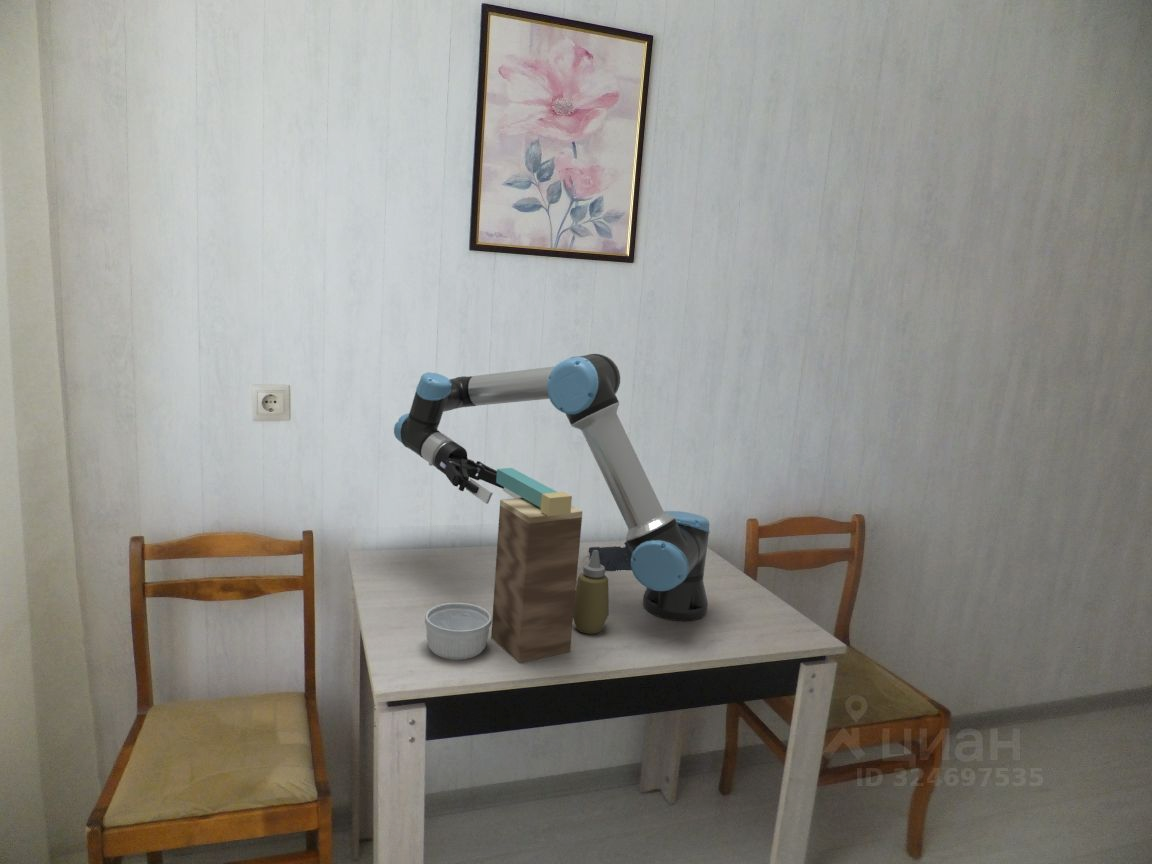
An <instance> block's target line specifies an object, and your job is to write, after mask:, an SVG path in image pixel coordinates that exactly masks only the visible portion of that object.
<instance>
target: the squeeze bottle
mask: <svg viewBox="0 0 1152 864" xmlns="http://www.w3.org/2000/svg"><path fill="white" fill-rule="evenodd" d="M590 556H591V555H590ZM589 559H590V560H589V562H588V563H585V564H584V565H583V568H582V570H583V571H582V573H581V574H579V575H578V576H577V580H576V592H575V603H574V614H573V623H574V627H575V630H577V631H578V632H581V633H583V634H587V635H589V634H590V635H591V634H593V635H594V634H598V633H600V632H602V631H603V628H604V626H605V624H606V621H607V619H608V617H609V611H610V610H609V608H610V607H609V606H610V605H609V579H608V577H607V576H606V575H605V573H606V571H605V567H604V566H603V565H601V564H600V558H599V551H598V550H593V552H592V556H591V557H590V558H589Z"/></svg>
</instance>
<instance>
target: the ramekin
mask: <svg viewBox="0 0 1152 864" xmlns="http://www.w3.org/2000/svg"><path fill="white" fill-rule="evenodd" d="M424 623H425V626H426V640H427V641H426V642H427V646H428V648H429V650H431V652H432V653H433V654H434V655H436V656H438V657H439V658H443V659H446V660H453V661H454V660H457V661H458V660H459V661H460V660H461V661H462V660H467V659H468V658H469V659H472V658H475V657H477V656H479V655H480V654H481V653H482V652H483V651H484V649H485V648H486V645H487V643H488V642H487V641H488V638H489V634H490V633H489V632H490V627H492V615H491V613H490V612H489V611H488V610H487V609H485V608H484V607H482V606H479V605H476V604H472V603H466V602H448V603H442V604H438V605H435V606H433V607H432V608H430V609H429V610H427V612H426V614H425V618H424ZM469 659H468V660H469Z"/></svg>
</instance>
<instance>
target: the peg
mask: <svg viewBox="0 0 1152 864" xmlns="http://www.w3.org/2000/svg"><path fill="white" fill-rule="evenodd" d="M496 471H497V478H496V483H498V484H500V485H501V486H503V487H505V488H507V489H508V490H510V491H512V492H514V493H515V494H517V495H519V496H521V497H522V498H524V499H526V500H528V501H529V502H531V503H533V504H535V505H536V506H538V507H540V508H541V511H540V512H542V513H544V514H545V515H547V516H555V515H564V514H570V513H571V506H572V502H573V501H572V500H573V496H572V495H571V494H569V493H567V492H566V491H559V492H558V491H557V490H555V489H553V488H551V487H549V486H547V485H545V484H543V483H542V482H540V481H537V480H535V479H534V478H532V477H530V476H528V475H526V474H524V473H523V472H520V471H519V470H516V469H515V468H513V467H506V468H505V467H504V468H496Z"/></svg>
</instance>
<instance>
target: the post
mask: <svg viewBox="0 0 1152 864" xmlns="http://www.w3.org/2000/svg"><path fill="white" fill-rule="evenodd" d="M540 511H541V508H540V507H538V506H536V505H535V504H533V503H531V502H529V501H528V500H526V499H524V498H513V497H512V498H504V499H500V501H499V515H498V527H497V528H498V529H497V543H496V559H495V562H496V563H495V575H494V590H493V602H492V603H493V606H492V616H491V633H490V638H491V639H492V640H493V641H494V642H495V643H496V644H498V646H499V647H501V648H502V649H503V650H504V651H505V652H506V653H507V654H509V656H511V657H512V658H513V659H514V660H515V661H516V662H518V663H519V664H521V663H524V662H530V661H533V660H538V659H541V658H542V659H543V658H548V657H552V656H556V655H561V654H565V653H569V652H571V648H572V647H571V645H572V635H573V625H574V624H573V623H574V619H573V614H574V603H575V592H576V586H577V581H578V567H579V554H580V546H581V544H580V543H581V536H582V535H581V531H582V521H583V510H580V509H579V508H577V507H575V506H574V505H571V513H570V514H564V515H555V516H547V515H545V514H544V513H542V512H540Z"/></svg>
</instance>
